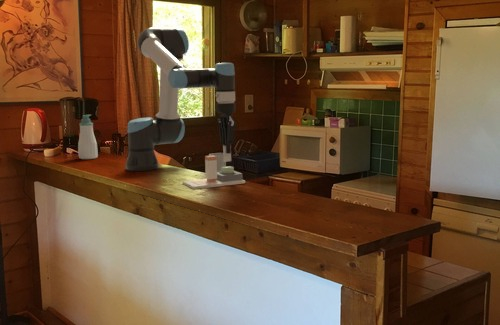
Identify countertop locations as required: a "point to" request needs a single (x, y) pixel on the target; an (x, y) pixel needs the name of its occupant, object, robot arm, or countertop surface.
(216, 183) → the board
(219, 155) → the cup
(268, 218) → the countertop surface
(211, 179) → the grey and orange block
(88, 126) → the soap bottle
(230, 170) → the button
